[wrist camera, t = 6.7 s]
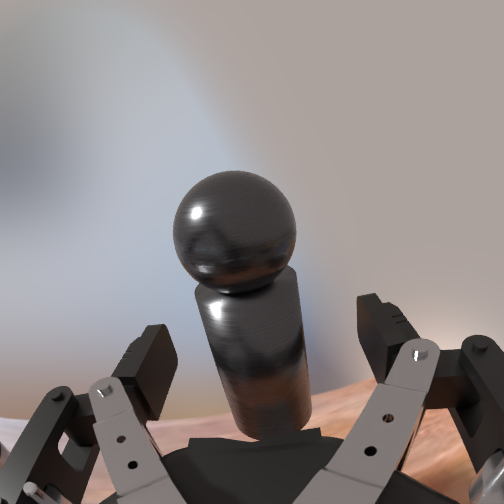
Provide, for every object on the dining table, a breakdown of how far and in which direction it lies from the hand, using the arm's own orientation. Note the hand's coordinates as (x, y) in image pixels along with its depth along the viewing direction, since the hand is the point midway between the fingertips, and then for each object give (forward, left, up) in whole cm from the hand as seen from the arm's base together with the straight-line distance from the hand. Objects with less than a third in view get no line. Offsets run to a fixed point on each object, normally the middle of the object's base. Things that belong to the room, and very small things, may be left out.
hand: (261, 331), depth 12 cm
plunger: (-2, -1, -20) cm, 20 cm away
